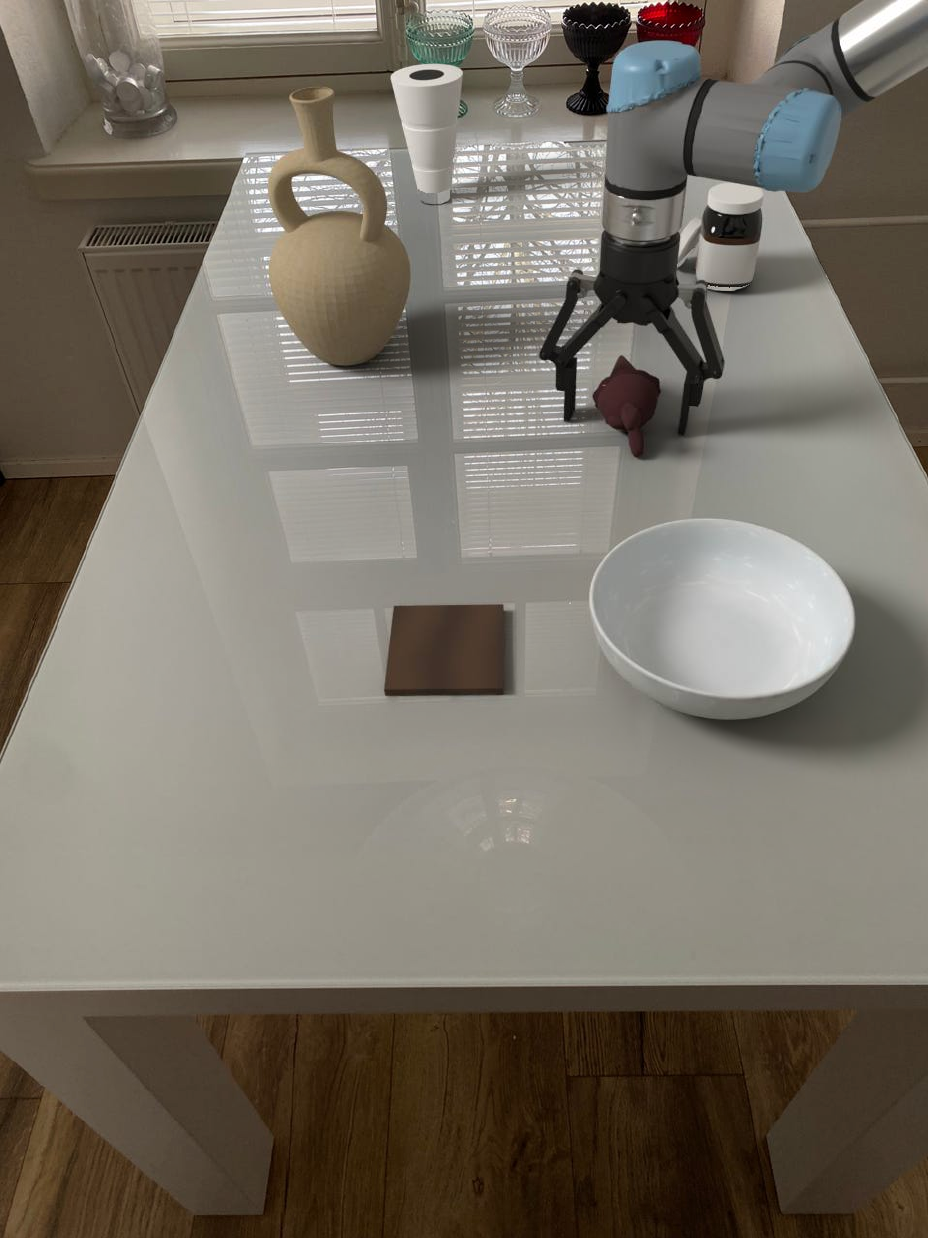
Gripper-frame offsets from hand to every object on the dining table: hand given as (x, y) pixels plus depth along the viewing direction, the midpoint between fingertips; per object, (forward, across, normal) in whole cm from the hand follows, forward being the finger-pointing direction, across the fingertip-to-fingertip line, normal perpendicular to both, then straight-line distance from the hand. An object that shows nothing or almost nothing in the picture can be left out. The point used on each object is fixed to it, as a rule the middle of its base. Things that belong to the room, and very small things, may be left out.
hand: (625, 421), depth 107 cm
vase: (0, -36, +8) cm, 37 cm away
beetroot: (0, 0, 0) cm, 0 cm away
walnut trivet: (0, -9, -38) cm, 39 cm away
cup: (+1, -40, +56) cm, 69 cm away
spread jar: (0, +5, +37) cm, 37 cm away
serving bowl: (0, +13, -33) cm, 35 cm away
